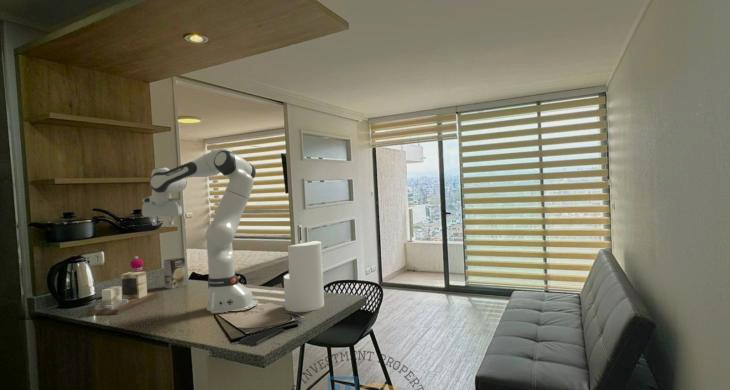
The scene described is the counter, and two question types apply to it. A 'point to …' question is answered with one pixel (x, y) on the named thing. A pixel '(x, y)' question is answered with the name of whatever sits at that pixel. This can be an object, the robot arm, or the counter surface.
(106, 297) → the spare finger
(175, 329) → the counter surface
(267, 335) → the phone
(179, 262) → the coffee box
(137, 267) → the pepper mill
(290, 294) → the cylinder
